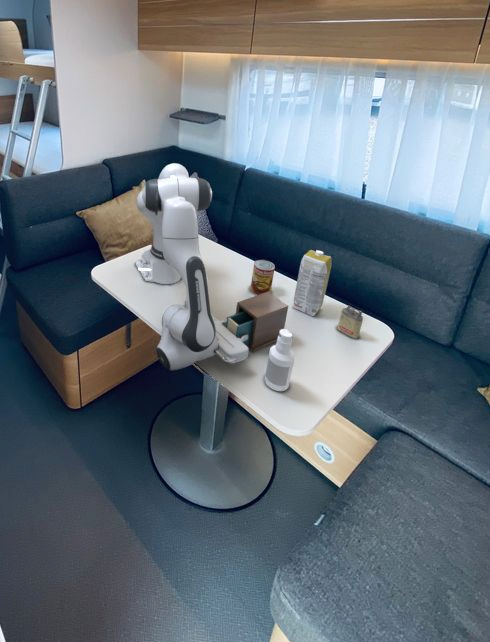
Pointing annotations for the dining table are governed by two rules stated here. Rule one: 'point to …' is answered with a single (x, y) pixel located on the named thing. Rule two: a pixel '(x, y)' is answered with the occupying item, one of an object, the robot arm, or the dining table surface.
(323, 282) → the juice carton
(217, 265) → the dining table surface
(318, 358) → the dining table surface
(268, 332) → the drawer cabinet
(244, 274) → the dining table surface
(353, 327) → the lighter
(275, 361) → the spray bottle
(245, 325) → the container
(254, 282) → the canned food
